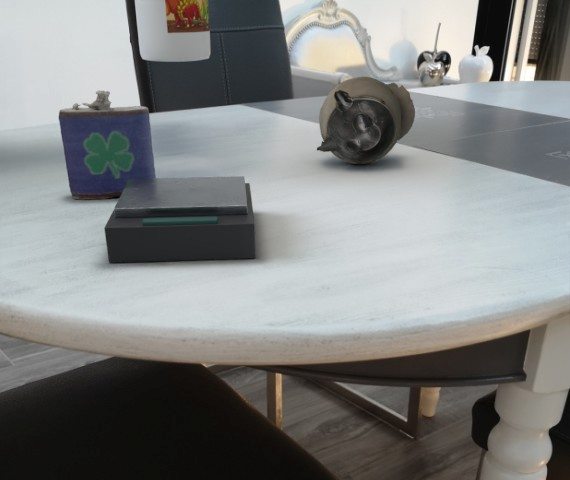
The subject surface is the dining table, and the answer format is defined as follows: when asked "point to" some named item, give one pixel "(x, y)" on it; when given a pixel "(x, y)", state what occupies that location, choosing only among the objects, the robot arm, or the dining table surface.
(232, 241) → the scale
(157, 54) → the milk bottle
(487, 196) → the dining table surface
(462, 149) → the dining table surface
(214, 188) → the scale platform
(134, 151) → the flask
